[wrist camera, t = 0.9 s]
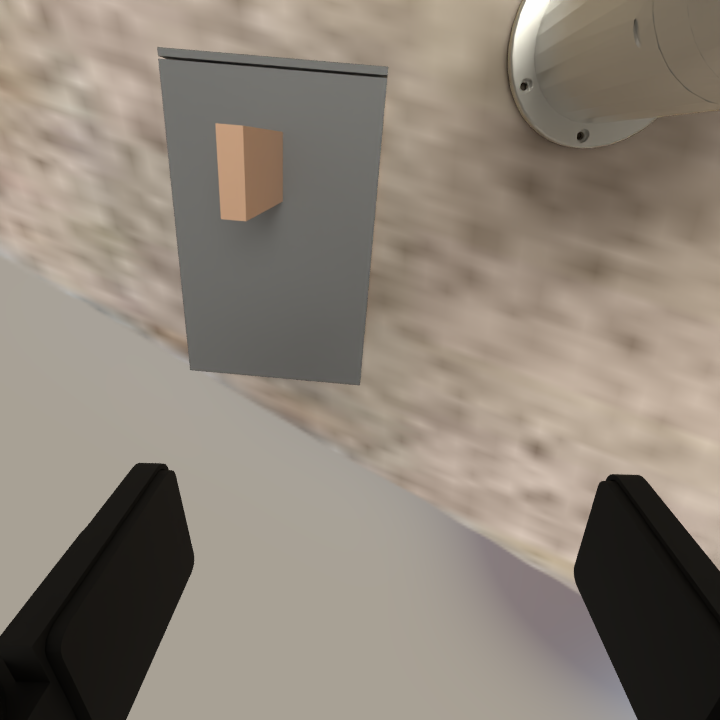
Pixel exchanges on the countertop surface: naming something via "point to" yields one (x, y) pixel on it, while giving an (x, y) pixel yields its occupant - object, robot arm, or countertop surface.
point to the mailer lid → (273, 209)
